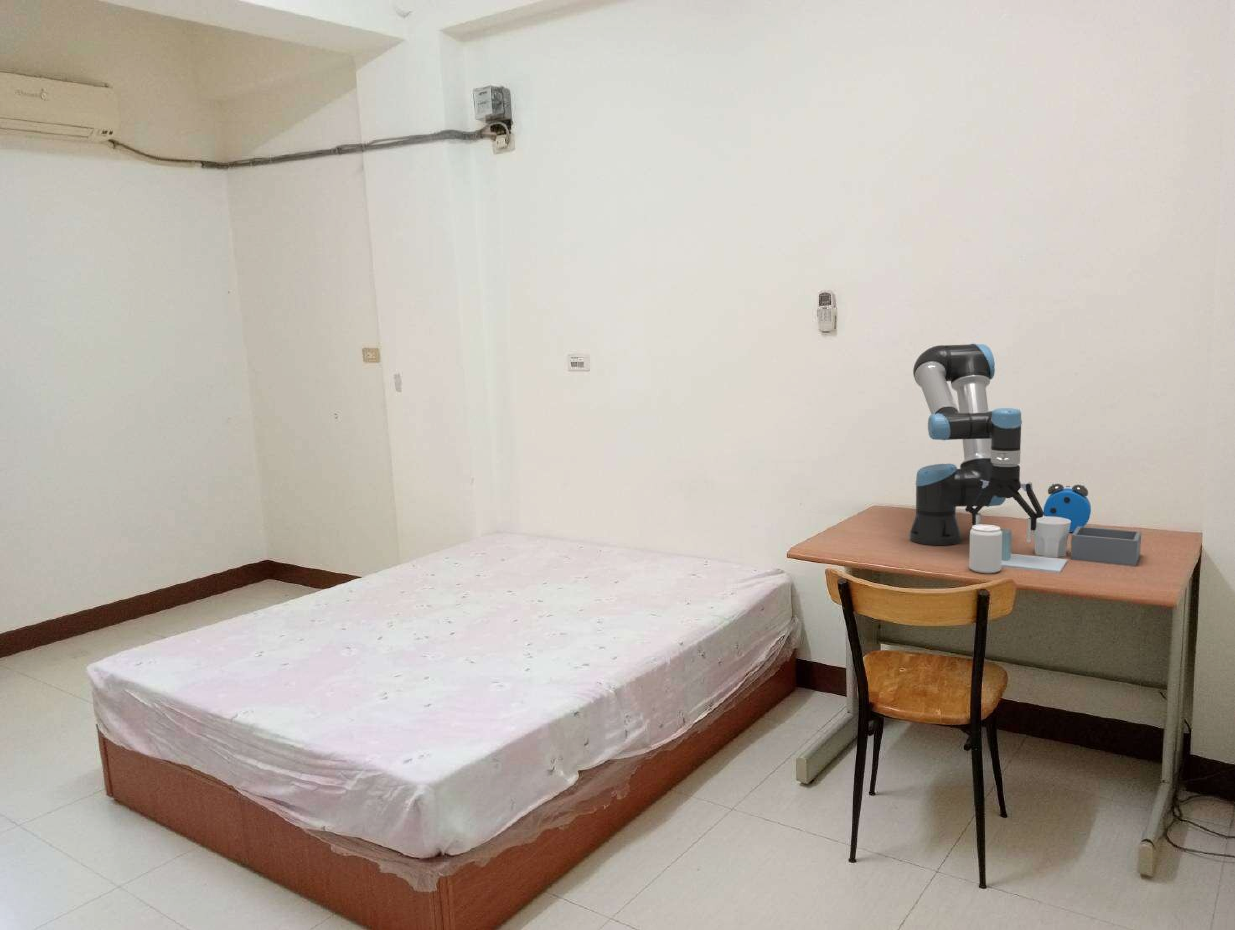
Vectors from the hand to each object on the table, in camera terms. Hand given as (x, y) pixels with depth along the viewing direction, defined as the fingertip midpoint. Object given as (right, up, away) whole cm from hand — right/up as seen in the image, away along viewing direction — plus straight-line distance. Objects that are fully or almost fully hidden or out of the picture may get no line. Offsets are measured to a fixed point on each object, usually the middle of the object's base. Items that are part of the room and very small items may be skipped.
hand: (1003, 539), depth 254 cm
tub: (+29, -5, 0) cm, 29 cm away
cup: (+16, -5, +6) cm, 18 cm away
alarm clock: (+33, 0, +31) cm, 45 cm away
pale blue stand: (+6, -7, -3) cm, 9 cm away
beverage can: (-8, -8, -7) cm, 14 cm away
